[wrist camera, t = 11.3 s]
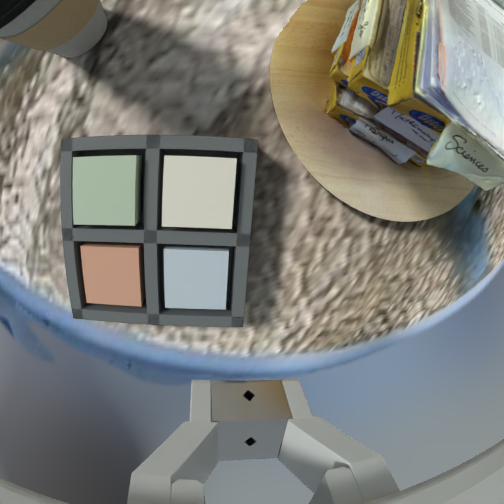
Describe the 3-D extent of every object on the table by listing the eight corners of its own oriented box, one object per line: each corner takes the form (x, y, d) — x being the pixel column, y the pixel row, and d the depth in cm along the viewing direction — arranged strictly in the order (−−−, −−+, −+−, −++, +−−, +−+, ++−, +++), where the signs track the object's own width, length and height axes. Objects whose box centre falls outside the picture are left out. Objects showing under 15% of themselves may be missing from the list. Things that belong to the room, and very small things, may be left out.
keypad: (250, 142, 25) (258, 139, 21) (238, 305, 29) (243, 326, 25) (80, 140, 22) (61, 138, 19) (87, 298, 27) (73, 318, 23)
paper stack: (214, 115, 24) (226, 49, 8) (347, -44, 19) (427, -121, 4) (409, 256, 31) (522, 328, 15) (490, 98, 26) (592, 99, 10)
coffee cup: (142, -2, 19) (103, -102, 5) (97, 84, 21) (1, 30, 7) (65, -10, 17) (-1, -80, 3) (23, 69, 19) (-78, 36, 5)
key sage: (142, 155, 21) (136, 155, 19) (140, 220, 23) (134, 225, 21) (83, 156, 20) (73, 157, 19) (83, 219, 22) (73, 224, 20)
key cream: (234, 158, 22) (236, 158, 20) (229, 223, 24) (231, 229, 22) (168, 155, 22) (164, 155, 20) (165, 220, 23) (161, 226, 21)
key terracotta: (143, 241, 24) (138, 248, 22) (145, 296, 26) (141, 306, 24) (88, 239, 24) (80, 246, 22) (93, 293, 25) (86, 302, 23)
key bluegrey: (227, 244, 25) (229, 251, 24) (224, 298, 27) (225, 309, 25) (166, 241, 25) (163, 249, 23) (167, 297, 26) (165, 307, 24)
